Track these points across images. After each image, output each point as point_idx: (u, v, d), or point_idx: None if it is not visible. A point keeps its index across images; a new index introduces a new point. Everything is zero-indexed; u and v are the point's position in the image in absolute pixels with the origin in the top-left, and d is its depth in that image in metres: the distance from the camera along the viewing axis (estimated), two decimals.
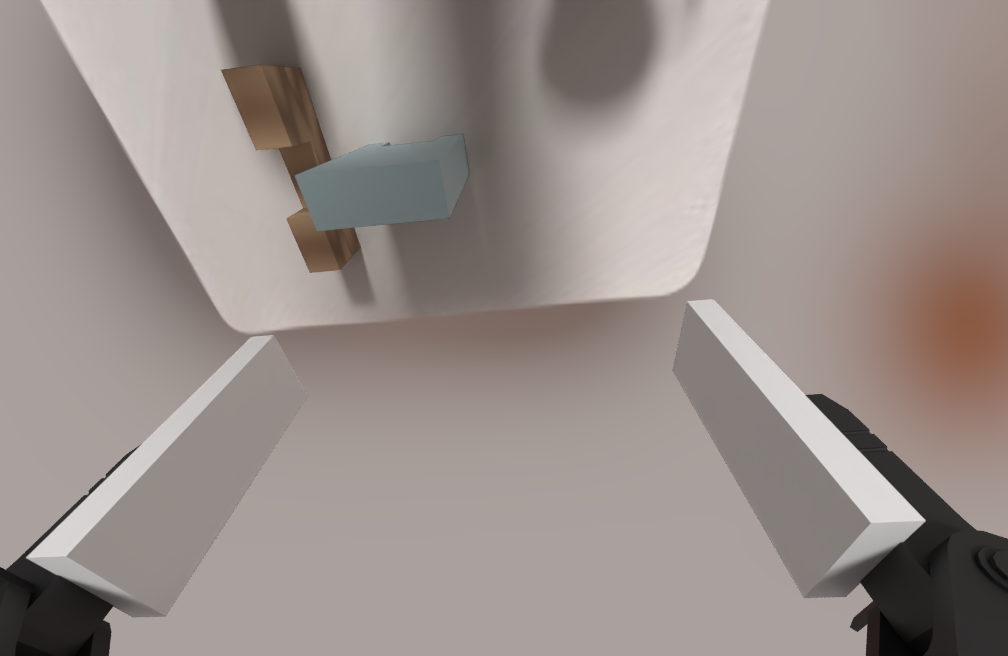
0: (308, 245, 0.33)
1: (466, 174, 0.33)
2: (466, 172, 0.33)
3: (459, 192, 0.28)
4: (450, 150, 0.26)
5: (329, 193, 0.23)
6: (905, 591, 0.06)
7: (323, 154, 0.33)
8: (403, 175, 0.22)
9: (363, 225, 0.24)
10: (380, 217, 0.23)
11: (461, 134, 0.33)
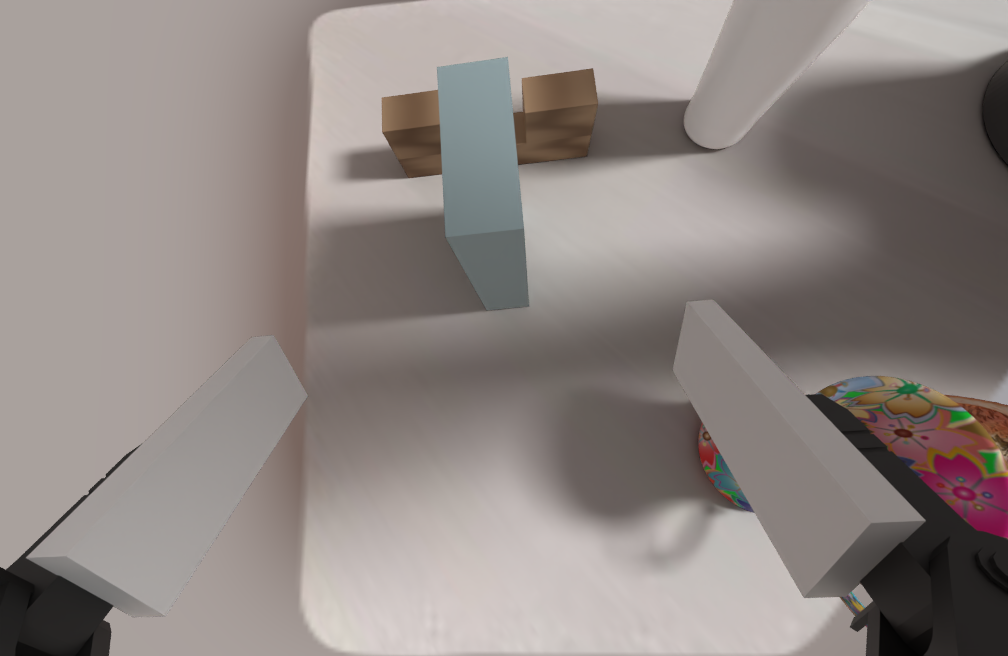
0: (415, 104, 0.27)
1: (488, 303, 0.28)
2: (490, 304, 0.28)
3: (472, 279, 0.22)
4: (523, 268, 0.21)
5: (484, 91, 0.17)
6: (905, 591, 0.06)
7: None
8: (505, 182, 0.16)
9: (441, 124, 0.17)
10: (451, 147, 0.17)
11: (528, 304, 0.29)
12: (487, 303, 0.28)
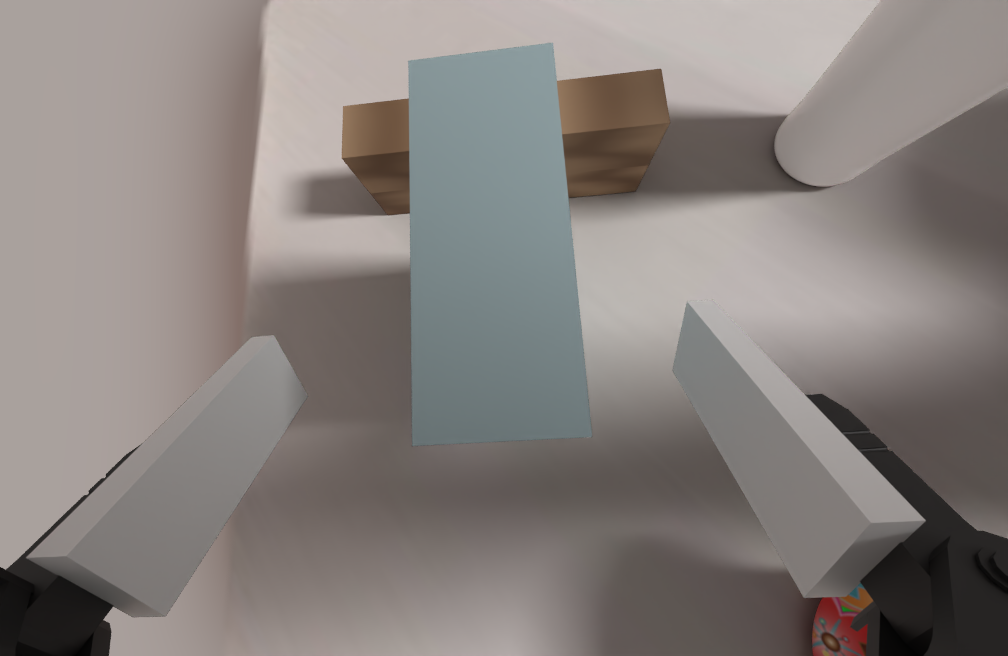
0: (393, 117, 0.18)
1: None
2: None
3: None
4: None
5: (505, 112, 0.08)
6: (905, 591, 0.06)
7: None
8: (547, 319, 0.07)
9: (412, 180, 0.08)
10: (431, 231, 0.08)
11: None
12: None
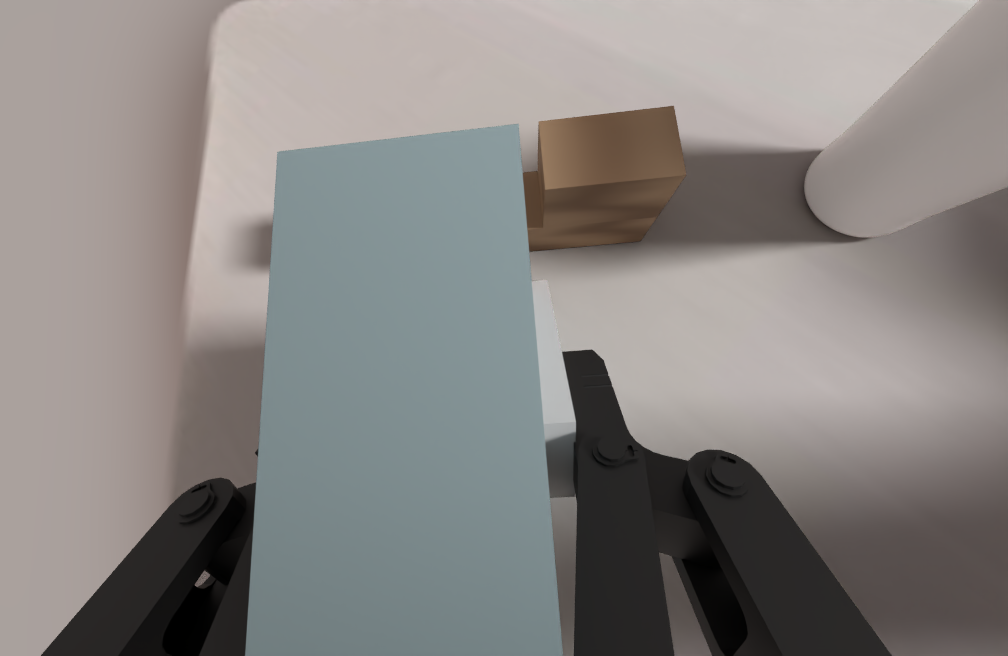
0: None
1: None
2: None
3: None
4: None
5: (434, 250, 0.05)
6: (576, 492, 0.07)
7: None
8: None
9: (267, 376, 0.05)
10: (295, 479, 0.04)
11: None
12: None
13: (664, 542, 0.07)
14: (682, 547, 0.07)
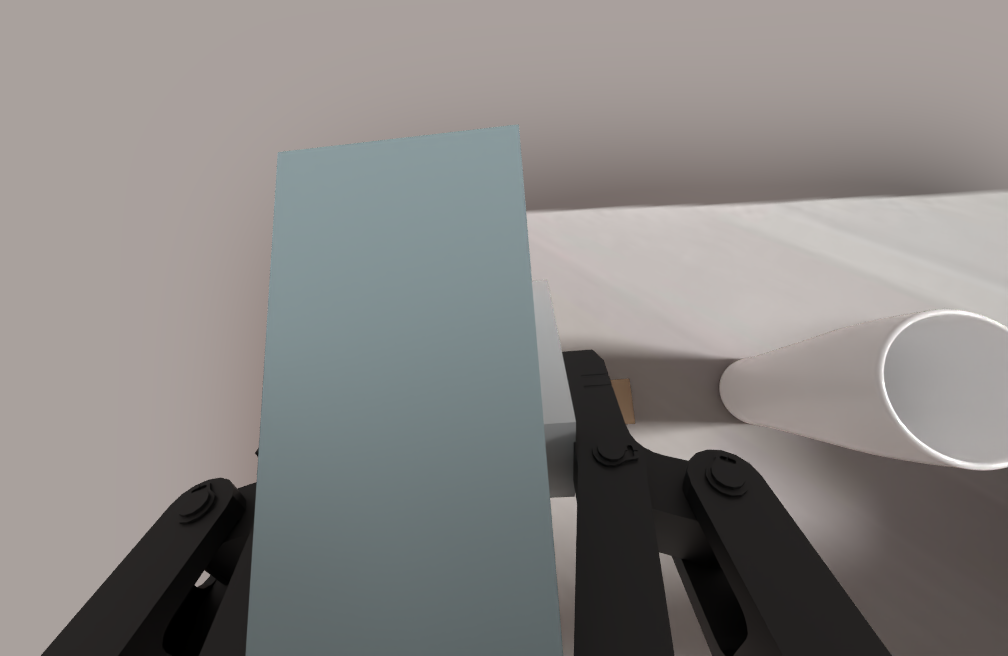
0: None
1: None
2: None
3: None
4: None
5: (435, 250, 0.05)
6: (576, 492, 0.07)
7: None
8: None
9: (268, 376, 0.05)
10: (295, 479, 0.04)
11: None
12: None
13: (664, 542, 0.07)
14: (681, 547, 0.07)
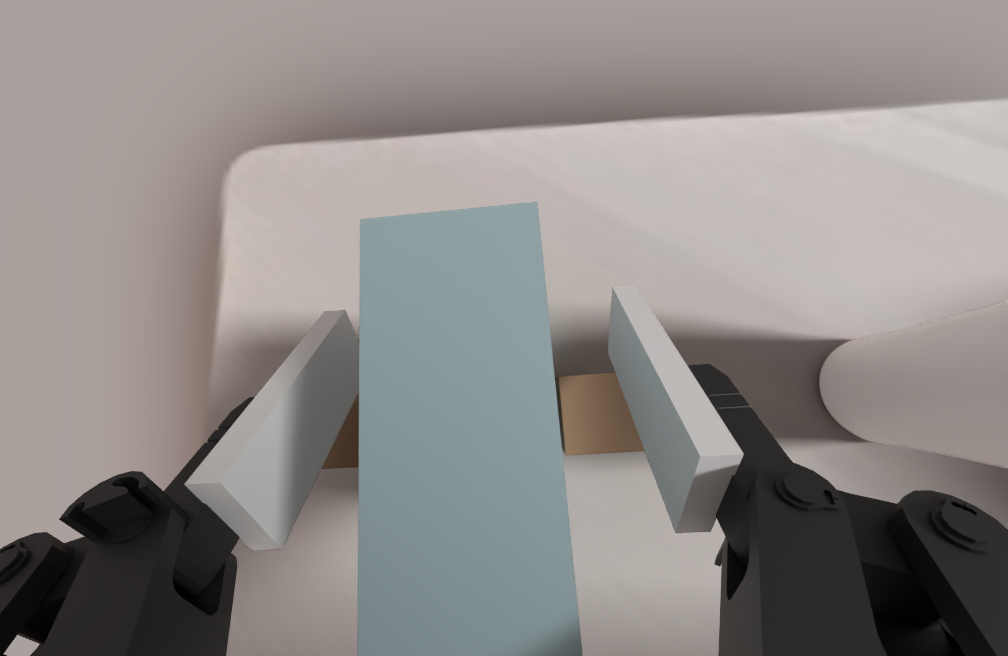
0: None
1: None
2: None
3: None
4: None
5: (479, 293, 0.07)
6: (737, 523, 0.07)
7: None
8: (533, 590, 0.06)
9: (362, 384, 0.06)
10: (386, 456, 0.06)
11: None
12: None
13: None
14: (886, 604, 0.06)
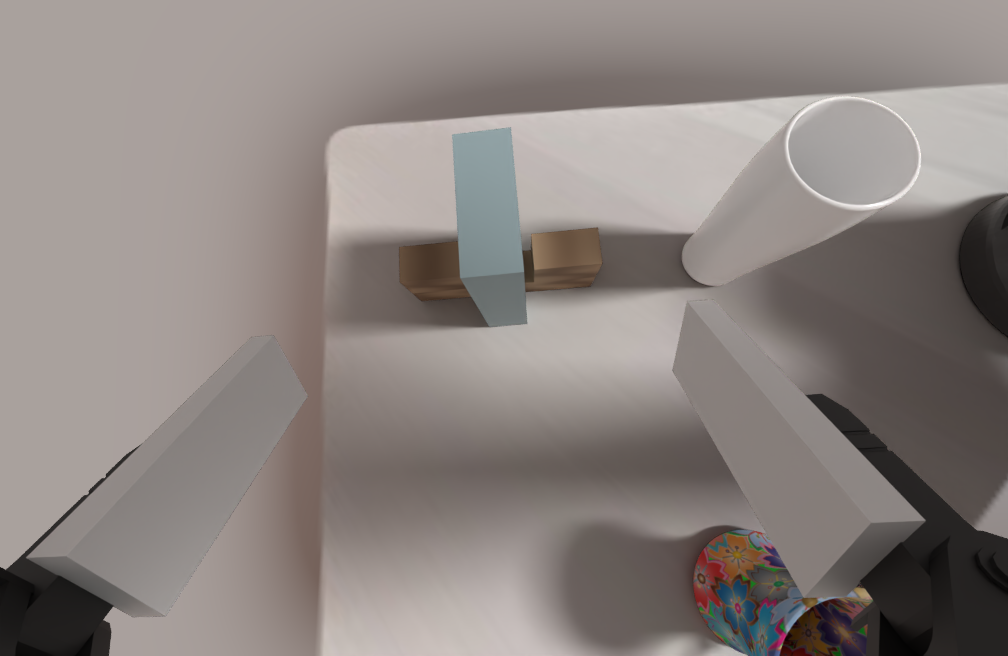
0: (431, 255, 0.29)
1: (491, 322, 0.31)
2: (493, 322, 0.32)
3: (479, 305, 0.25)
4: (523, 297, 0.24)
5: (492, 156, 0.21)
6: (905, 590, 0.06)
7: None
8: (508, 233, 0.20)
9: (456, 183, 0.21)
10: (464, 202, 0.20)
11: (526, 321, 0.33)
12: (490, 322, 0.31)
13: None
14: None
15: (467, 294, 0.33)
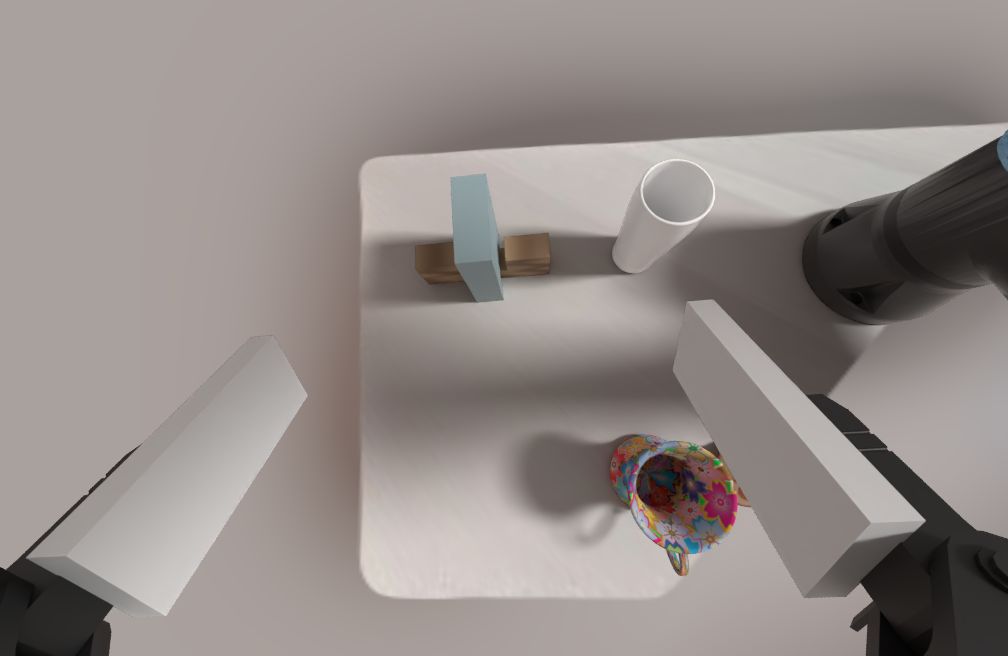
0: (436, 251, 0.43)
1: (477, 297, 0.45)
2: (479, 298, 0.45)
3: (468, 283, 0.39)
4: (495, 277, 0.38)
5: (474, 191, 0.35)
6: (905, 591, 0.06)
7: None
8: (483, 237, 0.34)
9: (452, 207, 0.35)
10: (457, 219, 0.34)
11: (503, 298, 0.47)
12: (477, 297, 0.45)
13: None
14: None
15: (461, 279, 0.47)
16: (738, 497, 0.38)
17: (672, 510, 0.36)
